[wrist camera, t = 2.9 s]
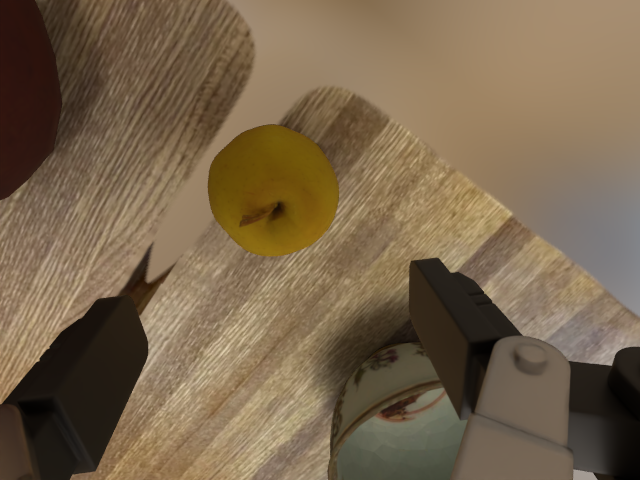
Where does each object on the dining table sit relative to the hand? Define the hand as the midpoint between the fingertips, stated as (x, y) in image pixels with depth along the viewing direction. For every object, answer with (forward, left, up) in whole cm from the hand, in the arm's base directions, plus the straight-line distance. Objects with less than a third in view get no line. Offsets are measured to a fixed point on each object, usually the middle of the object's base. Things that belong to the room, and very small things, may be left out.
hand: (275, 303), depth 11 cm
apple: (0, 0, -14) cm, 14 cm away
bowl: (+18, +7, -14) cm, 23 cm away
